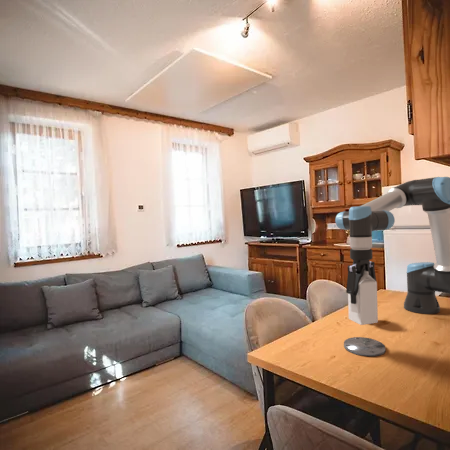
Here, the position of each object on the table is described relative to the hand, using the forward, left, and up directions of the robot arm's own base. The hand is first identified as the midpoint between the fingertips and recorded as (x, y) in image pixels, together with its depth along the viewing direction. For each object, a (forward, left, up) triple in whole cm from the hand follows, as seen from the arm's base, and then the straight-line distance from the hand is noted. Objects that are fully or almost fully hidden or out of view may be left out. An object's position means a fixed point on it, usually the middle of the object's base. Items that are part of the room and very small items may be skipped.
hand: (362, 309), depth 115 cm
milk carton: (0, 0, -5) cm, 5 cm away
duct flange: (0, 0, -14) cm, 15 cm away
